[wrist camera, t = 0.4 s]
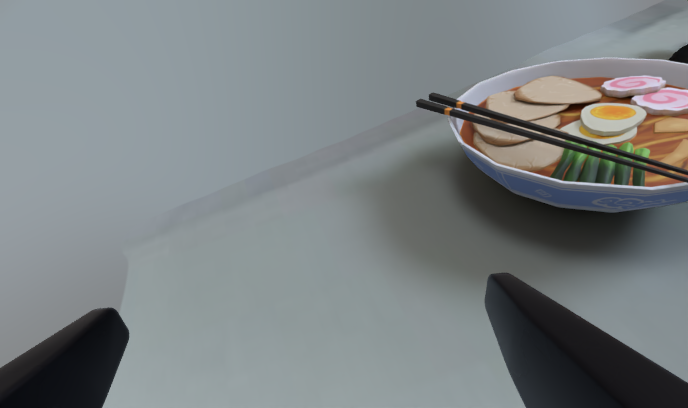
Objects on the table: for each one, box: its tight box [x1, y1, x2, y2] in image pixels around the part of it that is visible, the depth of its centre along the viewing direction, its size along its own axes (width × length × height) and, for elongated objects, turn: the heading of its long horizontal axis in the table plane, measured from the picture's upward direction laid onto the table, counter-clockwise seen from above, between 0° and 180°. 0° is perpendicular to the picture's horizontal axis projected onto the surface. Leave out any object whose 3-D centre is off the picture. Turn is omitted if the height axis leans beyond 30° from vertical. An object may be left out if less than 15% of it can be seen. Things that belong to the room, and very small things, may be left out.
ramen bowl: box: [416, 58, 688, 213], centre depth 29 cm, size 25×23×8 cm
